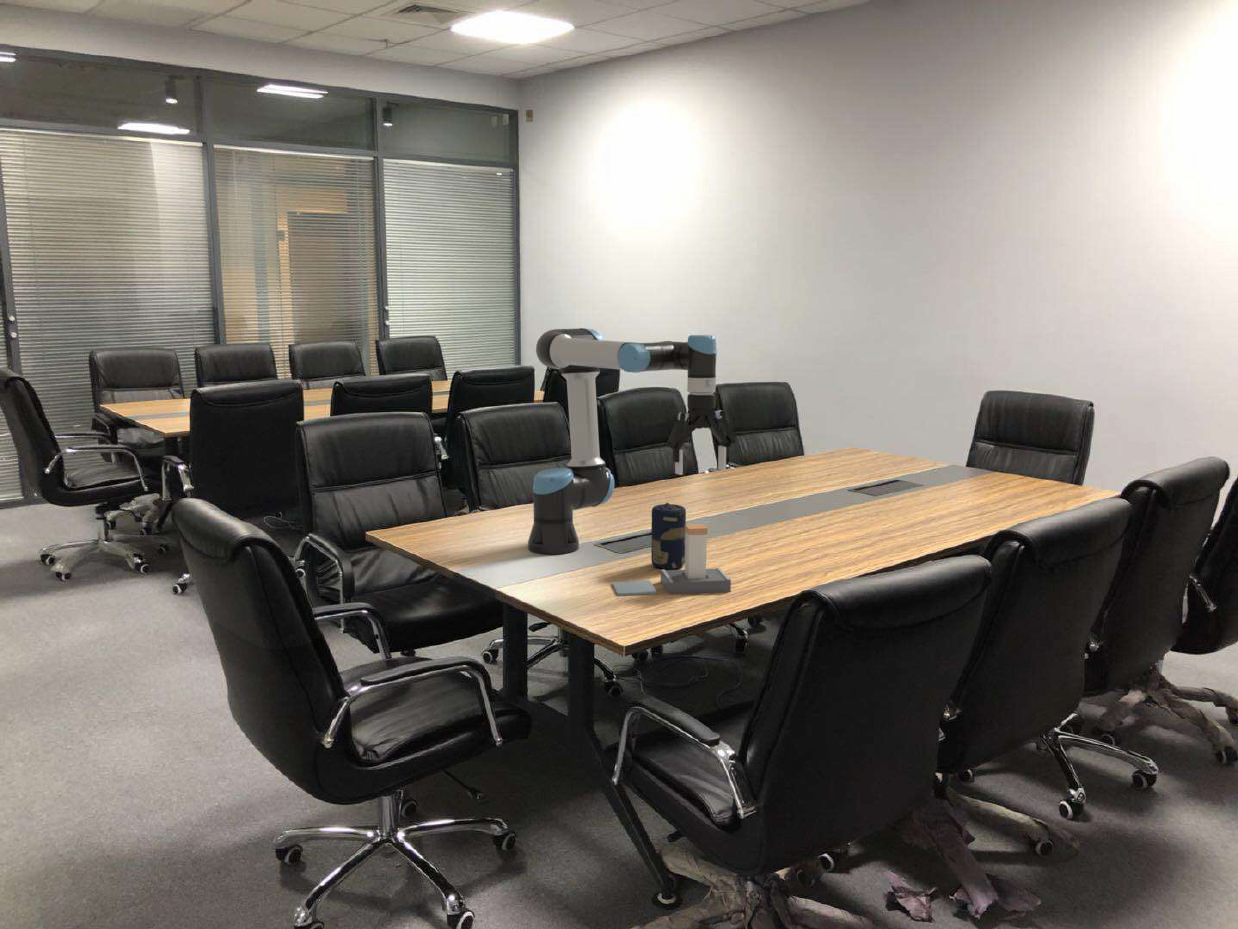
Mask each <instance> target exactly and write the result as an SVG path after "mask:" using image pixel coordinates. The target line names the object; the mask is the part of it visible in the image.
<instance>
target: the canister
mask: <svg viewBox="0 0 1238 929" xmlns="http://www.w3.org/2000/svg"><path fill="white" fill-rule="evenodd" d="M685 525H687V510H686V508H685V507H684V506H682V505H680V504H674V503H673V504H672V503H669V502H666V503H663V504H657V505H655V506H653V507H652V509H651V525H650V526H651V536H650V537H651V548H650V549H651V553H650V554H651V556H650V557H651V559H650V560H651V564H652V565H653V566H654V567H656V568H659V569H665V570H666V569H667V570H668V569H671V570H673V569H678V568H681V567H683V566H685V533H686V531H685Z"/></svg>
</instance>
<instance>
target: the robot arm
mask: <svg viewBox="0 0 1238 929" xmlns="http://www.w3.org/2000/svg"><path fill="white" fill-rule="evenodd" d="M535 352H536V356H537V358H538V360H539V362H540V363H541V364H542V365H543V366H545V367H547V368H550V369H556V370H557V369H559V370H560V372H561V376H562V377H563V378H564V379H565V380H566V386H567V387H566V388H567V405H568V419H569V420H568V421H569V438H570V449H571V450H570V452H571V455H570V456H571V459H570V460H569V462H568V463H567V464H566V466H567V467H555V468H547V469H544V470H540V471H538V472H537V473H536V474H535V475H534V477H533V486H532V492H533V493H532V496H533V524H532V527H531V530H530V533H529V536H528V540H527V548H528V550H529V551H530V552H533V553H537V554H541V555H542V554H545V555H561V554H562V555H563V554H568V553H572V552H575V551H577V550H579V548H580V541H579V537H578V534H577V531H576V528H575V525H574V519H573V518H574V517H573V515H574V513H573V512H574V511H577V510H581V509H586V508H594V507H595V508H596V507H597V506H600V505H603V504H605V503H606V504H607V502H608V501H609V500H610V499H611V498H612V495H613V493H614V491H615V478H614V475H613V474H612V472H611V470H610V469H609V468H608V467H606V462H605V460H604V459H602V458H601V455H600V440H599V439H600V438H599V437H600V436H599V423H598V422H599V421H598V420H599V419H598V407H597V404H598V403H597V402H598V401H597V388H596V387H597V386H596V378H597V376H599V374H600V372H601V371H600V369H613V370H621V371H624V372H626V373H635V374H638V373H641V372H642V373H643V372H652V371H653V372H655V371H657V372H658V371H669V370H672V371H673V370H677V371H678V370H679V371H682V370H683V371H687V385H686V386H687V387H686V388H687V390H686V392H688V394H687V396H686V397H687V398H686V400H687V405H686V406H687V413H685V412H681V411H678V412H677V413H676V420H675V422H674V425H673V427H672V430H671V433H670V435H669V437H668V440H667V442H666V443H665V447H666V448H669V449H671V450H672V461H673V462H674V470H675V471H674V473H675V474H676V475H680V476H682V475H683V474H684V469H683V467H684V465H683V464H684V463H683V462H684V451H683V450H682V447H683V446H684V445H685V443H686V441H687V440H688V438H689V437H690V436H691V434H692V433H693V431H696V429H698V430H699V429H700V430H701V429H709V431H711V433H712V435H713V436H714V438H716V440H717V441H718V442H719V444H720V445H718V446H717V447H718V450H717V451H718V453H717V454H718V455H717V456H718V458H717V465H718V466H717V470H719V471H723V472H724V471H725V472H726V471H727V459H728V458H729V447H732V446H731V445H733V444H735V442H736V439H735V437H734V435H733V433H732V430H731V428H730V425H729V423H728V420H727V416H726V411H725V410H721V409H717V410H716V409H715V408H716V405H717V404H716V403H717V402H716V401H717V400H716V399H717V398H716V394H715V393H716V383H717V382H716V381H717V380H716V379H717V378H716V377H717V376H716V374H717V373H716V369H717V352H718V351H717V340H716V337H715V336H714V335H712V334H691V335H689V336H688V337H687V341H685V342H684V341H671V340H663V341H655V342H632V341H629V342H628V341H614V340H604V338H603V336H602V335H601V334H600V333H599V332H598V331H597V330H596V329H593V328H583V327H579V328H554V329H550V330H548V331H545V332H544V333H543V334H541V335H540V337H539V338H538V340H537V342H536V347H535ZM715 418H716V419H717V422H718V424H719V427H720V429H721V430H720V429H719V427H718V425H717V424H716V422H715V421H714V420H715ZM686 421H687V423H686ZM685 423H686V424H685ZM684 425H685V426H684ZM683 427H684V428H683Z"/></svg>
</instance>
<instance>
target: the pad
mask: <svg viewBox="0 0 1238 929" xmlns="http://www.w3.org/2000/svg"><path fill="white" fill-rule="evenodd" d="M611 585H612V587H613V589H614V591H615V593H616V595H617V596H640V595H641V596H643V595H645V596H646V595H657V594H658V592H657V589H656V588H655V586H654V584H653V583H652V581H651V580H650V579H649V580H628V581H612V582H611Z"/></svg>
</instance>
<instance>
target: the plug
mask: <svg viewBox="0 0 1238 929" xmlns="http://www.w3.org/2000/svg"><path fill="white" fill-rule="evenodd" d="M685 531H686V533H685V564H684V570H685V578H686V579H702V578H706V569H707V536H708V527H707V526H706V525H705V524H704V523H697V524H696V523H694V524H691V523H690V524H689V523H688V524H686V525H685Z"/></svg>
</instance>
